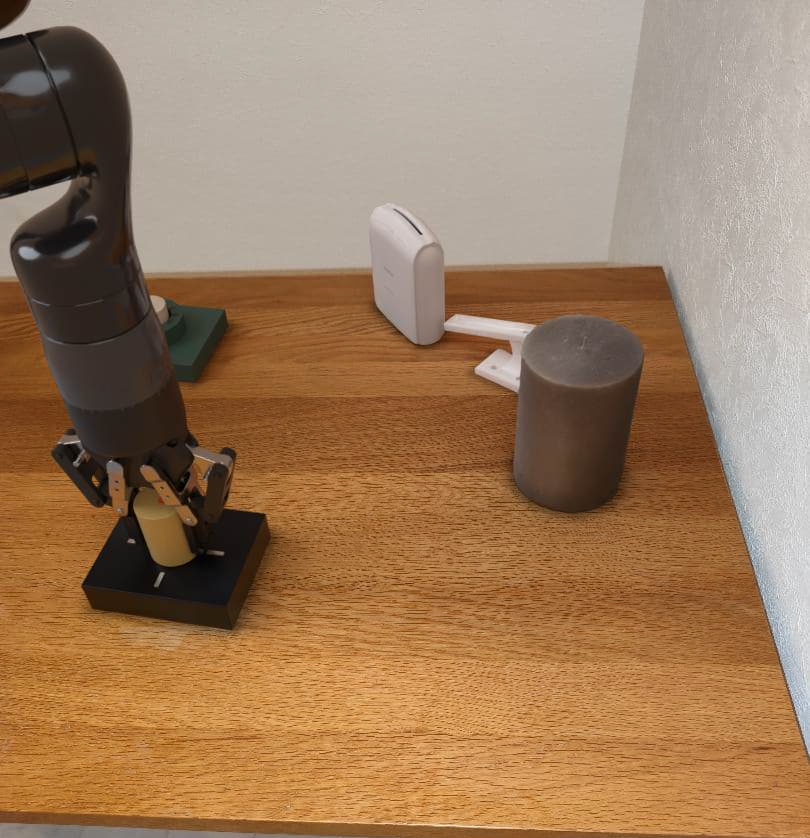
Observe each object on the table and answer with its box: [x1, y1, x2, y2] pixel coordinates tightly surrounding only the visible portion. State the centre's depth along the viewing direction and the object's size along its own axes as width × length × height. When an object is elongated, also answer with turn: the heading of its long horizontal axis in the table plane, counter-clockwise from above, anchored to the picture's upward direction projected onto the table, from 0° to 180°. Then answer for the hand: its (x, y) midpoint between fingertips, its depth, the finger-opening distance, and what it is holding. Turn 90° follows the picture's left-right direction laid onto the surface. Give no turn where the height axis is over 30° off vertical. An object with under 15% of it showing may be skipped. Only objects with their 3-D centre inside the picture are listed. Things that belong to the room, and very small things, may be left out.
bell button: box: [150, 295, 169, 324], centre depth 92 cm, size 4×4×2 cm
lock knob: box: [133, 487, 197, 567], centre depth 70 cm, size 4×4×6 cm
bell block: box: [162, 298, 229, 384], centre depth 94 cm, size 12×10×4 cm
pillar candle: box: [512, 313, 645, 513], centre depth 75 cm, size 10×10×15 cm
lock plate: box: [80, 507, 271, 631], centre depth 73 cm, size 12×10×3 cm
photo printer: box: [368, 202, 446, 346], centre depth 92 cm, size 10×4×12 cm, turn 30°
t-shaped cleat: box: [444, 313, 537, 394], centre depth 87 cm, size 4×20×5 cm, turn 51°
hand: (173, 541), depth 71 cm, fingers closed on lock knob, 4 cm apart
